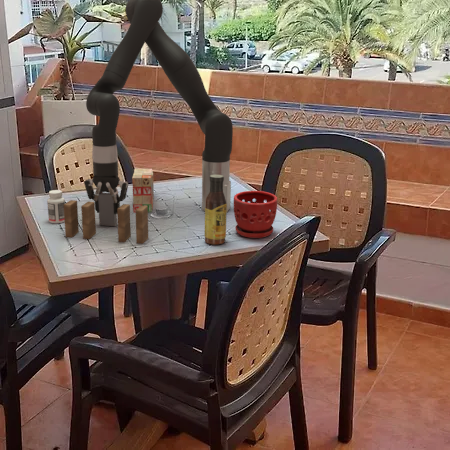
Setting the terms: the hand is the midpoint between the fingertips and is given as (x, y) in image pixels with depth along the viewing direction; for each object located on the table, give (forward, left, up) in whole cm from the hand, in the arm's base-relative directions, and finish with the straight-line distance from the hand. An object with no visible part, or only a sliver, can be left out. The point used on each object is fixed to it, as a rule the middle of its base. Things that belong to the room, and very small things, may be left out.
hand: (107, 212), depth 203 cm
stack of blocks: (-3, -26, -4) cm, 26 cm away
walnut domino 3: (-9, +11, -4) cm, 15 cm away
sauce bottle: (-36, +7, -4) cm, 37 cm away
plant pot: (-46, -3, -4) cm, 46 cm away
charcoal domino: (0, 0, -4) cm, 4 cm away
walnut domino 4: (-15, +11, -4) cm, 19 cm away
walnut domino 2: (+2, +11, -4) cm, 12 cm away
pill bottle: (+17, 0, -4) cm, 18 cm away
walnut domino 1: (+7, +11, -4) cm, 14 cm away
